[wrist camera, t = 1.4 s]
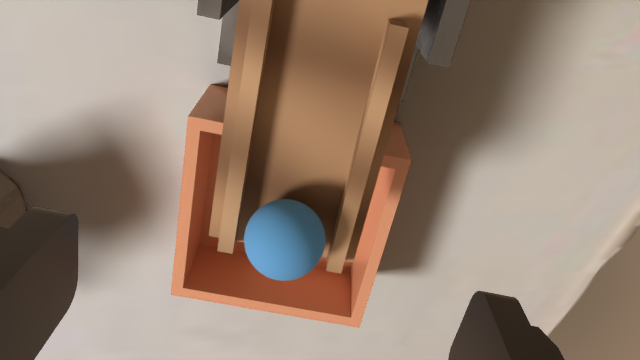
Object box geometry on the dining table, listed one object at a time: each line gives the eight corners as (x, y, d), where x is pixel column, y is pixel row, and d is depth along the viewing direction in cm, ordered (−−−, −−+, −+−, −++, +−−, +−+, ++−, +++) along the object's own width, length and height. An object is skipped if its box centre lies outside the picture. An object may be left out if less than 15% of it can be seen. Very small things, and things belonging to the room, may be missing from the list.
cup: (210, 84, 38) (188, 115, 32) (400, 123, 39) (411, 160, 33) (192, 244, 44) (170, 294, 39) (356, 274, 45) (359, 327, 40)
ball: (256, 178, 27) (244, 219, 24) (333, 193, 27) (332, 235, 24) (245, 242, 29) (232, 289, 25) (317, 256, 29) (315, 304, 26)
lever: (283, -298, 20) (266, -366, 15) (490, -245, 20) (540, -293, 15) (214, 221, 30) (190, 282, 25) (352, 247, 31) (355, 311, 26)
